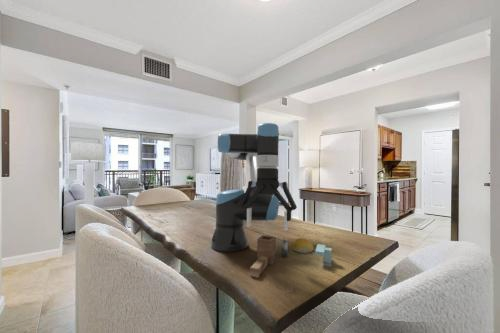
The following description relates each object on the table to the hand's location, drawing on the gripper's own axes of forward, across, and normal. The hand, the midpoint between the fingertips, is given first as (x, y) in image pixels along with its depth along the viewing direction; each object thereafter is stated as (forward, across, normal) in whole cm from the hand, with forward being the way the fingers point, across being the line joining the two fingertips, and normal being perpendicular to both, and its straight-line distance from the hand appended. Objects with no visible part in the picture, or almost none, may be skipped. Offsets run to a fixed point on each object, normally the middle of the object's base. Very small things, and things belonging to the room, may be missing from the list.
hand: (267, 228), depth 79 cm
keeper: (+12, +19, +7) cm, 23 cm away
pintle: (+12, +5, +7) cm, 14 cm away
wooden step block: (+12, 0, -5) cm, 13 cm away
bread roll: (+12, +10, +18) cm, 23 cm away
